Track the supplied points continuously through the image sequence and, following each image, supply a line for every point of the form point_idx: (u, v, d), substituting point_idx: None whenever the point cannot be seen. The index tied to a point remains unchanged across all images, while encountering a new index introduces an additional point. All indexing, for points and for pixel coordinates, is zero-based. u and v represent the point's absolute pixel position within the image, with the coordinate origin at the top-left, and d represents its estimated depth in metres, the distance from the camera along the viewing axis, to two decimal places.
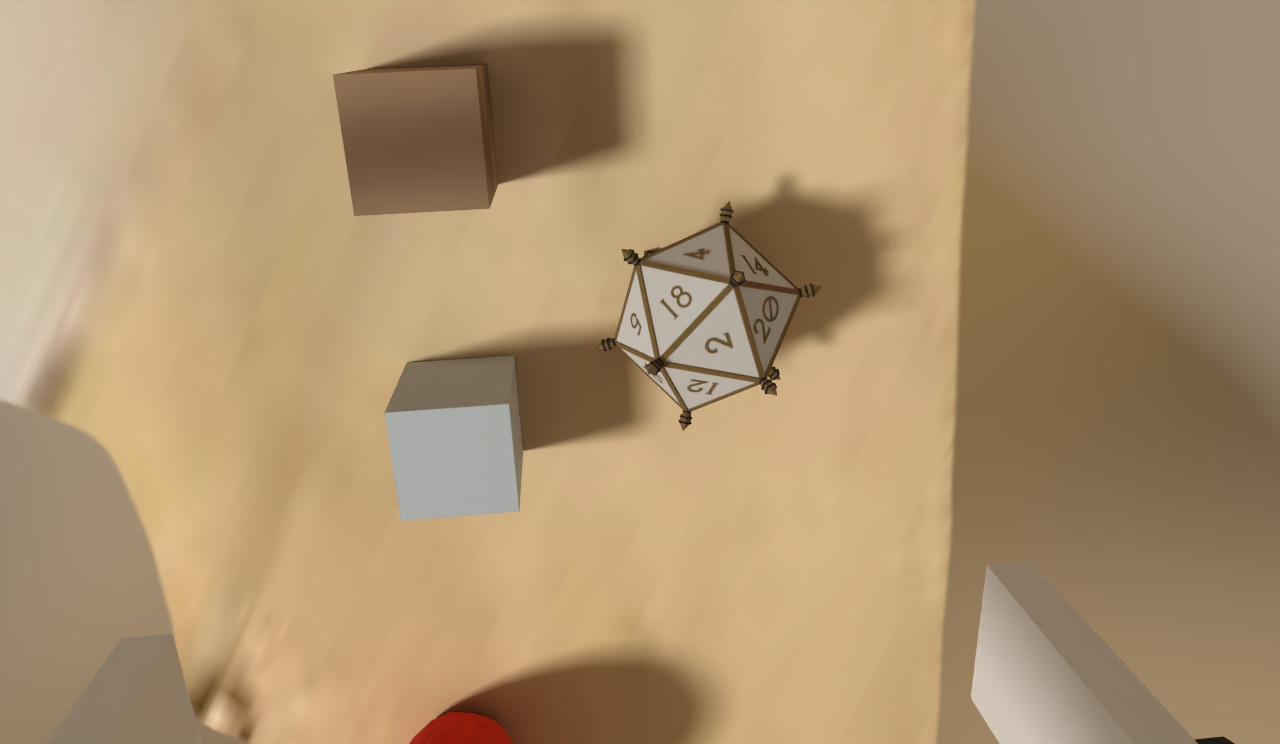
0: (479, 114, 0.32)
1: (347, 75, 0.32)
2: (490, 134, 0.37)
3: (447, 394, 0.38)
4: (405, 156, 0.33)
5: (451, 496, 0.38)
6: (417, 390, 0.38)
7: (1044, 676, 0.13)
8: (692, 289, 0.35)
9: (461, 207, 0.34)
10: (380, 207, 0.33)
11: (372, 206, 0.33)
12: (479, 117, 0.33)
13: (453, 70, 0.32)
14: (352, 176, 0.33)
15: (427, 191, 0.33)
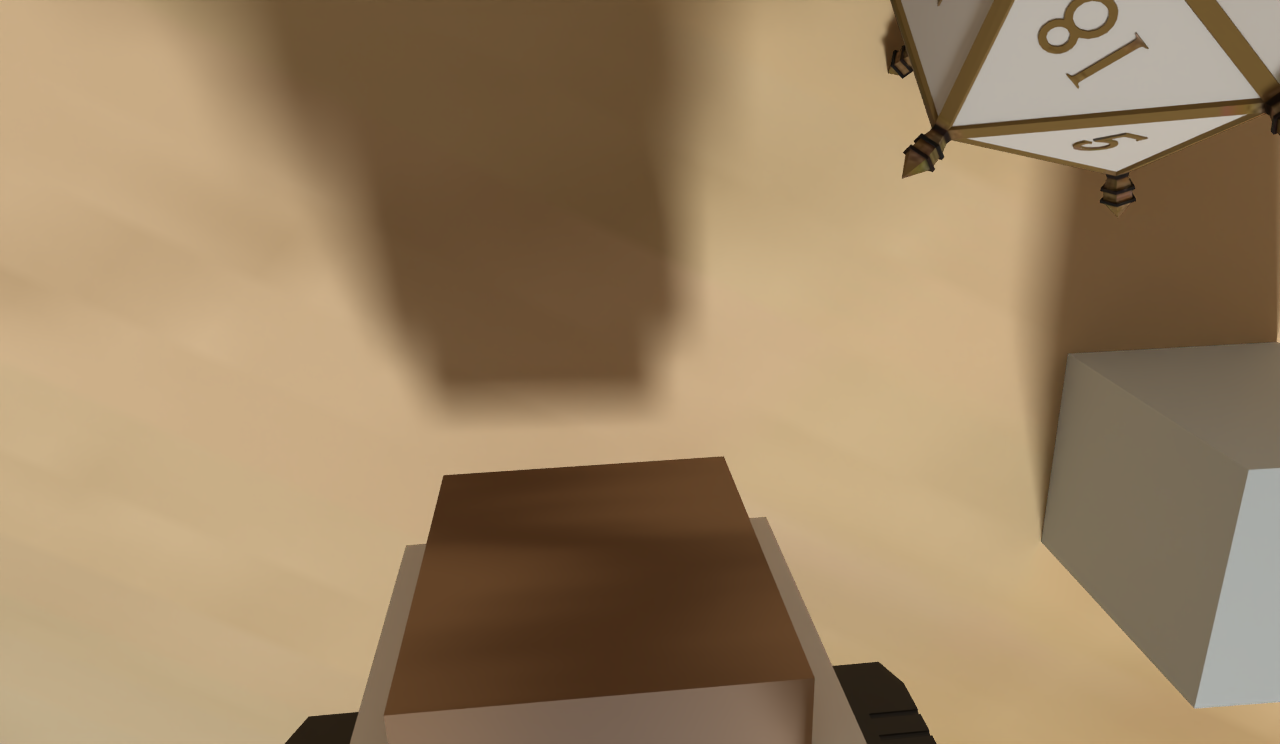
0: (523, 703, 0.10)
1: None
2: (601, 516, 0.14)
3: (1166, 557, 0.17)
4: None
5: None
6: (1135, 593, 0.18)
7: None
8: None
9: None
10: None
11: None
12: (532, 703, 0.10)
13: None
14: None
15: None
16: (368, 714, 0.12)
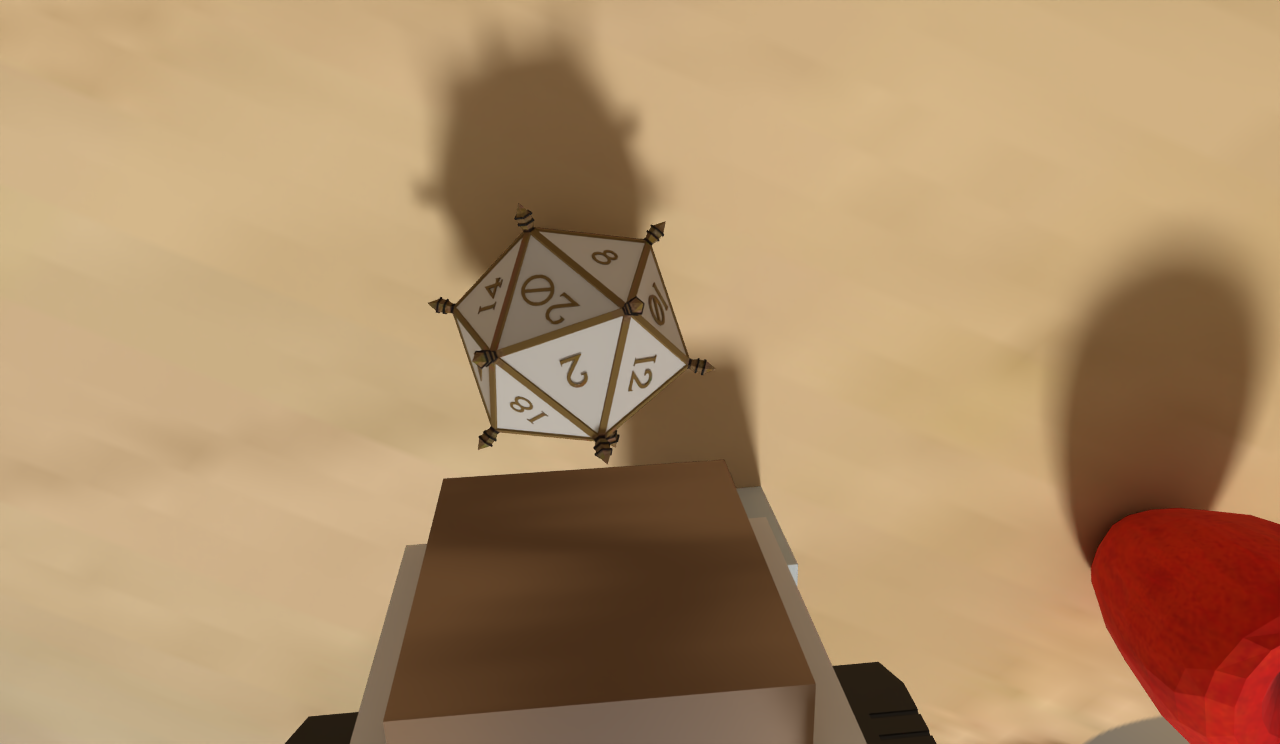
0: (523, 709, 0.10)
1: None
2: (601, 520, 0.14)
3: None
4: None
5: None
6: None
7: None
8: (510, 393, 0.28)
9: None
10: None
11: None
12: (532, 709, 0.10)
13: None
14: None
15: None
16: (368, 714, 0.12)
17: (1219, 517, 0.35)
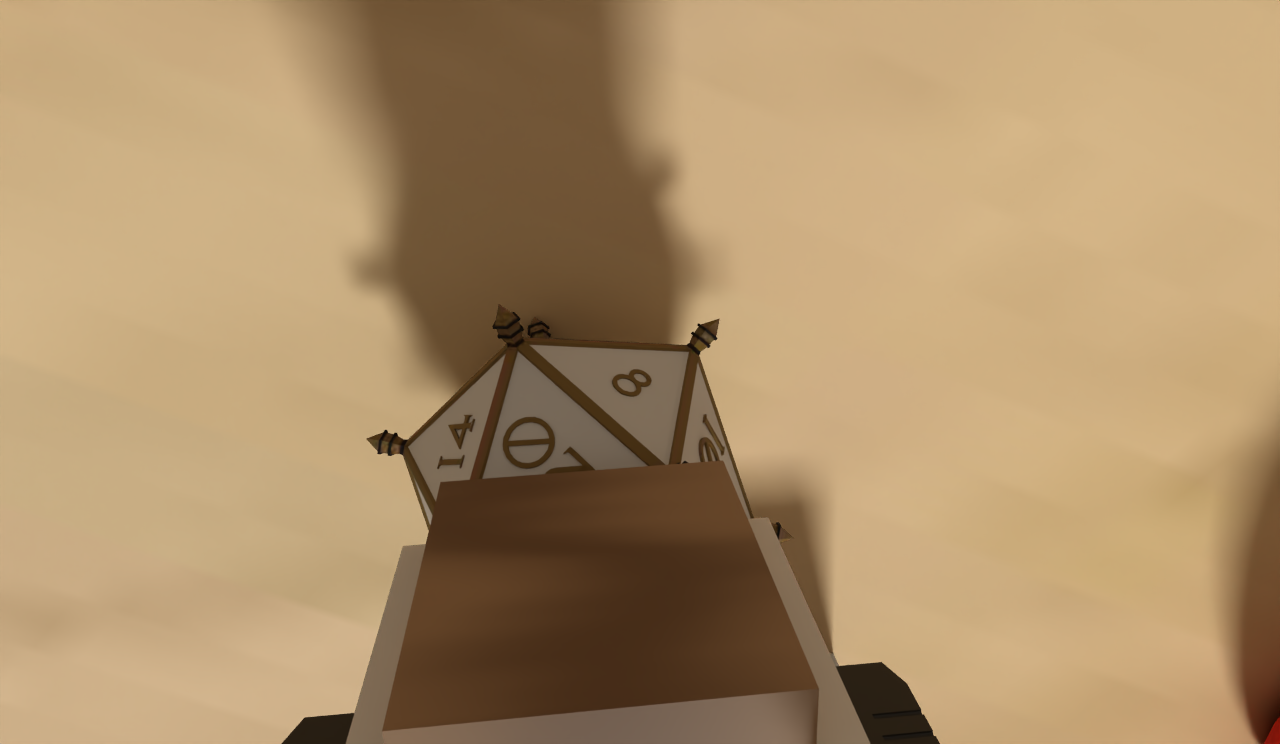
0: (523, 717, 0.10)
1: None
2: (600, 523, 0.14)
3: None
4: None
5: None
6: None
7: None
8: None
9: None
10: None
11: None
12: (533, 717, 0.10)
13: None
14: None
15: None
16: (364, 715, 0.12)
17: None
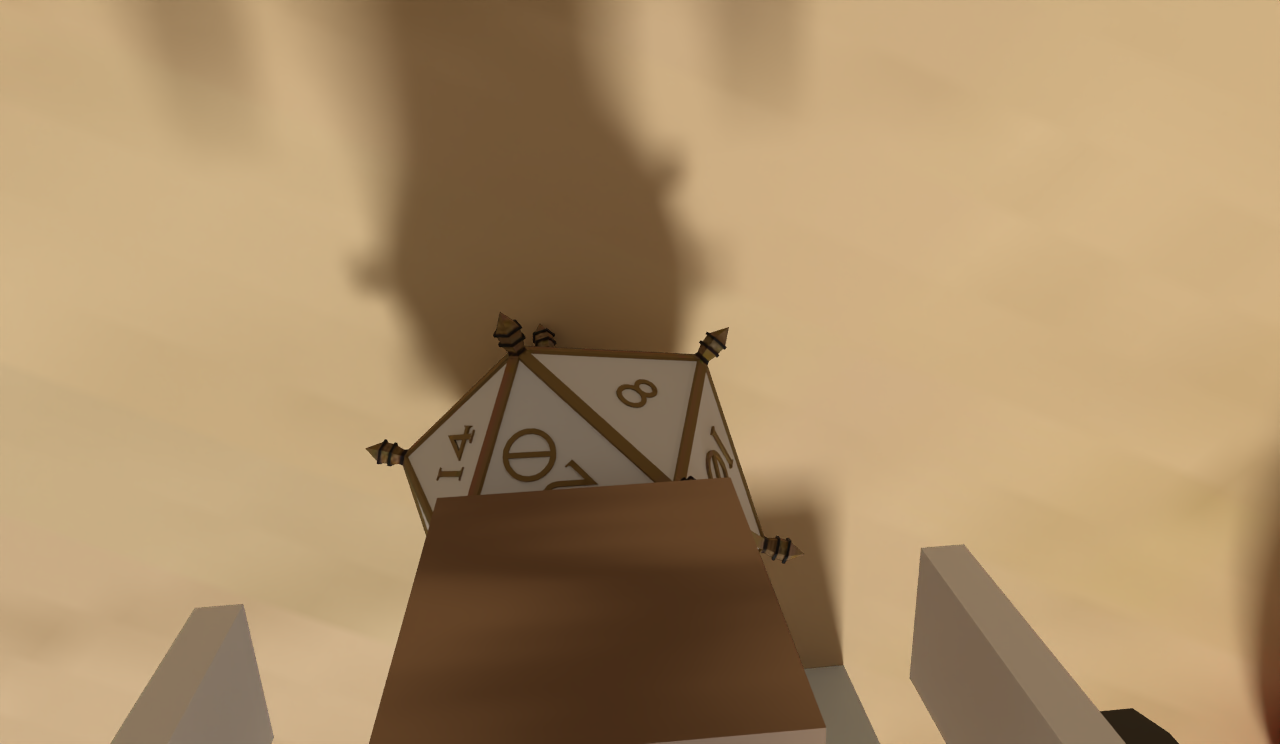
0: None
1: None
2: (601, 543, 0.13)
3: None
4: None
5: None
6: None
7: (968, 654, 0.13)
8: None
9: None
10: None
11: None
12: None
13: None
14: None
15: None
16: None
17: None
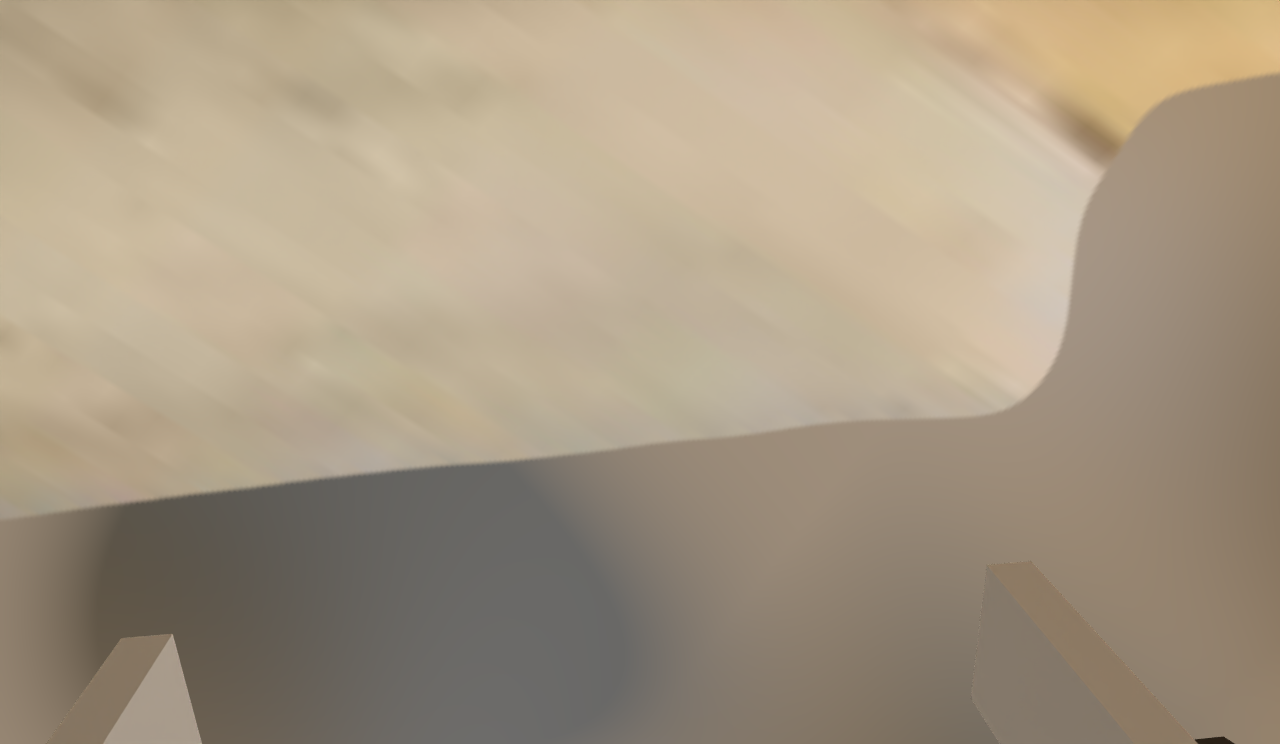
0: None
1: None
2: None
3: None
4: None
5: None
6: None
7: (1044, 676, 0.13)
8: None
9: None
10: None
11: None
12: None
13: None
14: None
15: None
16: None
17: None
